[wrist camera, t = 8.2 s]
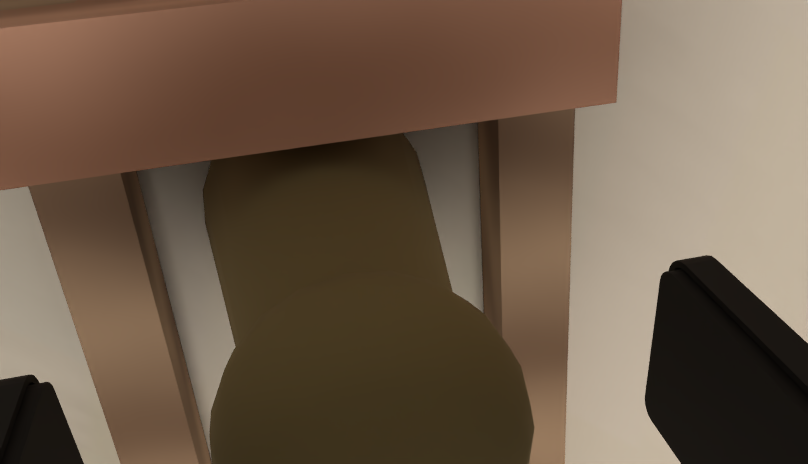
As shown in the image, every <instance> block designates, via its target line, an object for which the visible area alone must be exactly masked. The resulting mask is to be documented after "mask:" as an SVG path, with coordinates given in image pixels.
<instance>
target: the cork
mask: <svg viewBox="0 0 808 464" xmlns="http://www.w3.org/2000/svg"><path fill="white" fill-rule="evenodd" d="M203 198H204V211H205V224H206V228H207V232H208V236H209V240H210V244H211V248H212V252H213V256H214V260H215V264H216V268H217V273H218V277H219V281H220V285H221V289H222V293H223V297H224V301H225V305H226V309H227V313H228V317H229V321H230V326H231V330H232V334H233V338H234V342H235V346H236V348H235V349H234V351H233V353H232V355H231V357H230V359H229V361H228V363H227V365H226V368H225V370H224V373H223V376H222V379H221V382H220V385H219V388H218V391H217V394H216V398H215V401H214V404H213V407H212V410H211V421H210V447H211V458H212V464H529V461H530V454H531V448H532V441H533V435H534V428H535V427H534V422H533V416H532V410H531V404H530V400H529V396H528V392H527V388H526V384H525V380H524V376H523V372H522V368H521V365H520V364H519V362H518V360H517V359H516V357H515V356H514V354H513V352H512V351H511V349H510V347H509V346H508V344H507V343H506V342H505V340H504V339H503V338H502V336H501V335H500V334H499V332H498V331H497V330H496V328H495V327H494V326H493V324H492V323H491V322H490V320H489V319H488V318H487V316H486V315H485V314H484V313H482V312H481V311H480V310H478V309H477V308H476V307H474V306H473V305H472V304H471V303H469V302H468V301H466V300H465V299H463V298H461V297H460V296H458V295H457V294H455V293H453V292H452V288H451V284H450V280H449V276H448V272H447V268H446V264H445V260H444V256H443V252H442V248H441V244H440V240H439V236H438V232H437V228H436V224H435V220H434V216H433V212H432V209H431V205H430V201H429V197H428V193H427V189H426V185H425V181H424V177H423V174H422V170H421V167H420V163H419V160H418V156H417V153H416V151H415V150H414V148H413V147H412V146H411V144H410V143H409V141H408V140H407V138H406V137H405V136H404V134H403V133H398V134H391V135H384V136H377V137H370V138H363V139H356V140H349V141H342V142H335V143H328V144H321V145H314V146H307V147H300V148H293V149H286V150H279V151H272V152H265V153H258V154H251V155H244V156H237V157H230V158H223V159H216V160H211V164H210V167H209V171H208V175H207V178H206V182H205V185H204V189H203Z"/></svg>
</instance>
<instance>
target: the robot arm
mask: <svg viewBox="0 0 808 464" xmlns="http://www.w3.org/2000/svg"><path fill="white" fill-rule="evenodd" d="M645 405H646V409H647V412H648V415H649V417H650V419H651V421H652V422H653V424H654V425H655V427H656V428H657V429H658V431H659V432H660V434H661V435H662V437H663V438H664V439H665V441H666V442H667V444H668V445H669V447H670V448H671V450H672V451H673V452H674V454H675V455H676V457H677V458H678V460H679V461H680V462H681V464H808V343H807V342H805V341H804V340H803V339H802V338H801V337H800V336H799V335H798V334H797V333H796V332H795V331H794V330H792V329H791V328H790V327H789V326H788V325H787V324H786V323H785V322H784V321H783V320H782V319H780V318H779V317H778V316H777V315H776V314H775V313H774V312H773V311H772V310H771V309H770V308H769V307H767V306H766V305H765V304H764V303H763V302H762V301H761V300H760V299H759V298H758V297H757V296H755V295H754V294H753V293H752V292H751V291H750V290H749V289H748V288H747V287H746V286H745V285H744V284H742V283H741V282H740V281H739V280H738V279H737V278H736V277H735V276H734V275H733V274H732V273H730V272H729V271H728V270H727V269H726V268H725V267H724V266H723V265H722V264H721V263H720V262H719V261H717V260H716V259H715V258H713V257H712V256H707V255H706V256H701V257H695V258H689V259H684V260H678V261H675V262H673V263H672V264H671V266H670V268H669V271H667V272H664V273H663V274H662V276H661V279H660V285H659V293H658V300H657V308H656V316H655V323H654V331H653V339H652V347H651V354H650V362H649V370H648V377H647V385H646V393H645ZM0 464H84V463H83V461H82V458H81V455H80V453H79V450H78V448H77V445H76V443H75V440H74V438H73V435H72V433H71V430H70V428H69V425H68V423H67V420H66V418H65V415H64V413H63V410H62V408H61V405H60V403H59V400H58V398H57V395H56V393H55V390H54V388H53V386H52V385H51V384H50V383H49V382H44V383H39V381H38V380H37V378H36V377H35V376H34V375H25V376H19V377H14V378H8V379H2V380H0Z"/></svg>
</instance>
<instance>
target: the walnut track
mask: <svg viewBox="0 0 808 464" xmlns="http://www.w3.org/2000/svg"><path fill="white" fill-rule="evenodd" d="M621 8H622V0H0V190H5V189H12V188H19V187H26V186H28V187H29V190H30V193H31V196H32V199H33V202H34V205H35V208H36V211H37V214H38V217H39V220H40V223H41V226H42V229H43V232H44V235H45V238H46V241H47V244H48V247H49V250H50V253H51V256H52V259H53V262H54V265H55V268H56V271H57V274H58V277H59V280H60V283H61V286H62V289H63V292H64V295H65V298H66V301H67V304H68V307H69V310H70V313H71V316H72V319H73V322H74V325H75V328H76V331H77V334H78V337H79V340H80V343H81V346H82V349H83V352H84V355H85V358H86V361H87V364H88V367H89V370H90V373H91V376H92V379H93V382H94V385H95V388H96V391H97V394H98V397H99V400H100V403H101V406H102V409H103V412H104V415H105V418H106V421H107V424H108V427H109V430H110V433H111V436H112V439H113V442H114V445H115V448H116V451H117V454H118V457H119V460H120V463H121V464H212V463H211V459H210V455H209V451H208V447H207V443H206V439H205V436H204V432H203V428H202V424H201V420H200V416H199V412H198V409H197V405H196V401H195V397H194V393H193V389H192V385H191V381H190V378H189V374H188V370H187V366H186V362H185V358H184V354H183V351H182V347H181V343H180V339H179V335H178V331H177V327H176V323H175V320H174V316H173V312H172V308H171V304H170V300H169V296H168V293H167V289H166V285H165V281H164V277H163V273H162V269H161V265H160V262H159V258H158V254H157V250H156V246H155V242H154V238H153V235H152V231H151V227H150V223H149V219H148V215H147V211H146V207H145V204H144V200H143V196H142V192H141V188H140V184H139V180H138V177H137V173H136V171H139V170H146V169H153V168H160V167H167V166H174V165H181V164H188V163H195V162H202V161H209V160H216V159H223V158H230V157H237V156H244V155H251V154H258V153H265V152H272V151H279V150H286V149H293V148H300V147H307V146H314V145H321V144H328V143H335V142H342V141H349V140H356V139H363V138H370V137H377V136H384V135H391V134H398V133H405V132H412V131H419V130H426V129H433V128H440V127H447V126H454V125H461V124H468V123H475V122H478V143H479V174H480V205H481V235H482V266H483V297H484V314H485V315H486V316H487V318H488V319H489V320H490V322H491V323H492V324H493V326H494V327H495V328H496V330H497V331H498V332H499V334H500V335H501V336H502V338H503V339H504V340H505V342H506V343H507V344H508V346H509V347H510V349H511V351H512V352H513V354H514V356H515V357H516V359H517V360H518V362H519V364H520V365H521V368H522V372H523V376H524V380H525V384H526V388H527V392H528V396H529V400H530V404H531V410H532V416H533V422H534V427H535V428H534V435H533V441H532V448H531V454H530V461H529V464H564V463H565V429H566V395H567V360H568V326H569V292H570V258H571V223H572V189H573V155H574V121H575V108H581V107H588V106H595V105H602V104H609V103H616V98H617V80H618V62H619V44H620V26H621Z"/></svg>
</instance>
